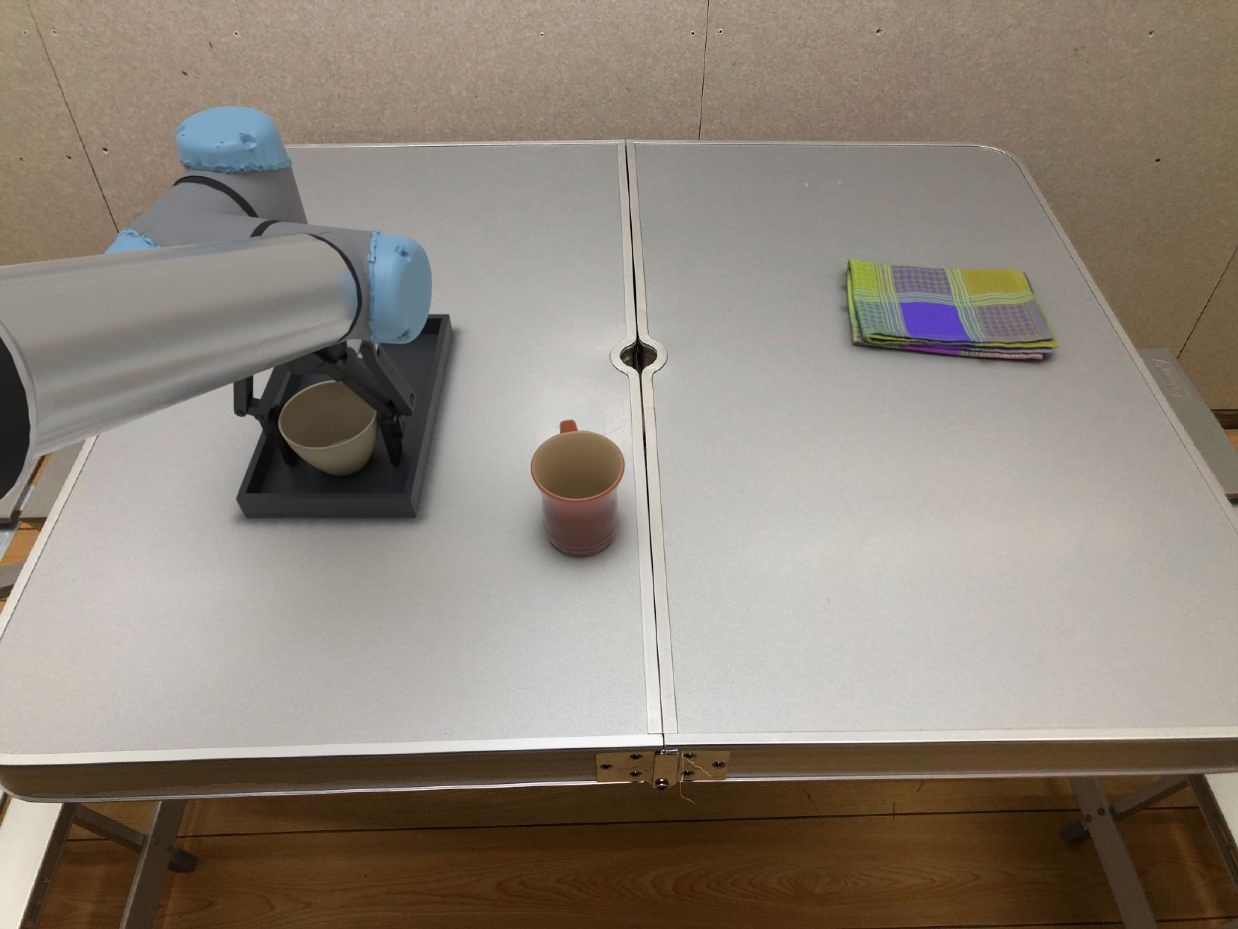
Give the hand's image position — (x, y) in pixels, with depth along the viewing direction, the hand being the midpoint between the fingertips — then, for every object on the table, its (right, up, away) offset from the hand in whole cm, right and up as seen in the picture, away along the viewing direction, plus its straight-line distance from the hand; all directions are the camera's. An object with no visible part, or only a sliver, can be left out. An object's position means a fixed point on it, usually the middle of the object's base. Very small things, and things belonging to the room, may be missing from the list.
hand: (345, 455), depth 91 cm
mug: (+26, -7, -4) cm, 27 cm away
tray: (0, +5, +5) cm, 7 cm away
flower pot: (0, 0, 0) cm, 1 cm away
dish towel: (+72, +19, +18) cm, 76 cm away
